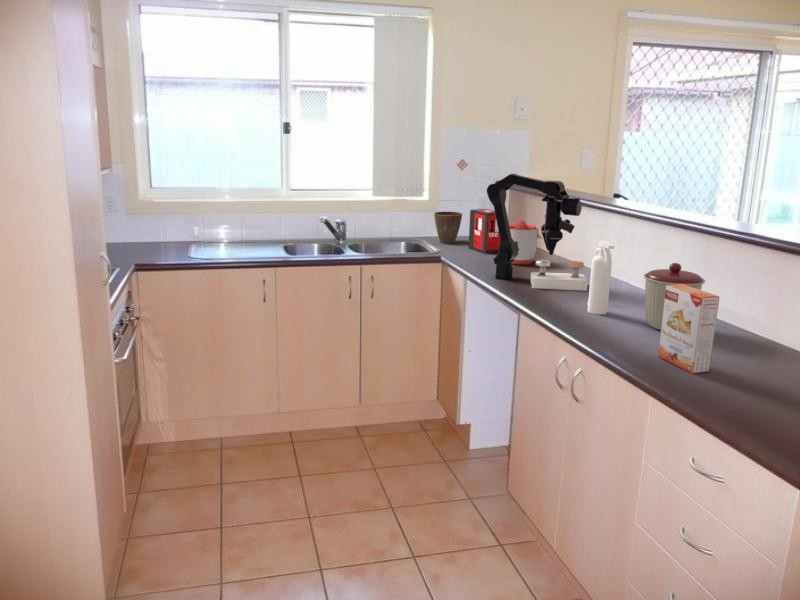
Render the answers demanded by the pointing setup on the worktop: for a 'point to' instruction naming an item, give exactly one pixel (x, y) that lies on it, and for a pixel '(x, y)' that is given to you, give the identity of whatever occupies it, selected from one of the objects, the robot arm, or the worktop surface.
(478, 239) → the cleaning product box
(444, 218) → the plant pot
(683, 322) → the cracker box
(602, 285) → the white spray bottle
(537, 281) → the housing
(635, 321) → the worktop surface
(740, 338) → the worktop surface
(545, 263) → the plug
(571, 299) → the worktop surface
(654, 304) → the canister
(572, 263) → the terracotta plug
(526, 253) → the citrus juicer
